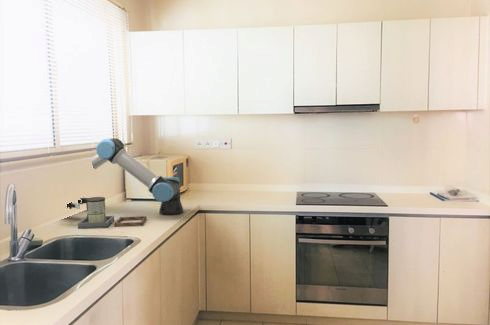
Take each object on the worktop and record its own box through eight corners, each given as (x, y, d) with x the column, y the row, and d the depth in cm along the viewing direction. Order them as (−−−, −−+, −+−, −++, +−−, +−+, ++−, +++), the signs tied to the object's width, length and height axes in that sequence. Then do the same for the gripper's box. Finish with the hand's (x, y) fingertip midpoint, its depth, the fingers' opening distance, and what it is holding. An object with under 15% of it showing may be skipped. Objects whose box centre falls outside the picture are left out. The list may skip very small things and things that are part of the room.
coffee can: (83, 223, 234) (82, 198, 233) (100, 219, 242) (99, 196, 241) (93, 226, 228) (91, 201, 226) (109, 222, 235) (108, 198, 234)
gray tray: (114, 220, 243) (114, 215, 243) (107, 227, 227) (107, 222, 227) (86, 221, 242) (86, 216, 242) (78, 228, 226) (77, 223, 226)
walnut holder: (146, 219, 246) (146, 216, 245) (142, 225, 230) (142, 222, 230) (120, 220, 244) (120, 217, 244) (114, 226, 229) (114, 223, 229)
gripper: (87, 203, 259) (108, 206, 247) (49, 210, 238) (70, 214, 226) (86, 191, 258) (107, 194, 246) (48, 197, 238) (69, 201, 226)
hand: (89, 204), depth 236 cm, fingers open, 13 cm apart
